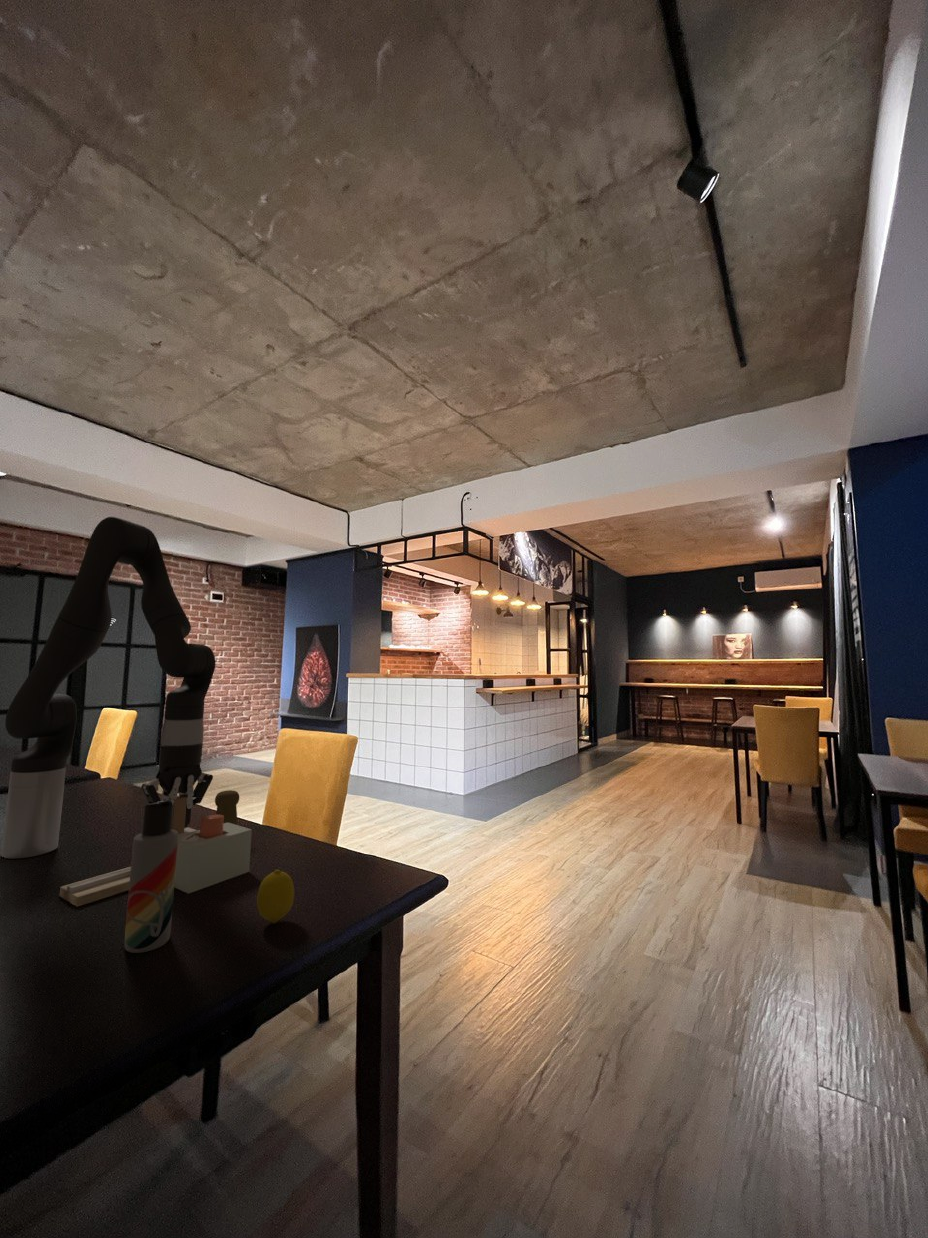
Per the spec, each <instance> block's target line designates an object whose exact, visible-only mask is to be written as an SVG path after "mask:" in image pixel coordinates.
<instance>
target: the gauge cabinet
mask: <svg viewBox="0 0 928 1238" xmlns="http://www.w3.org/2000/svg"><path fill="white" fill-rule="evenodd" d="M196 830H197V829H196ZM252 830H253V829H251V828H248V827H244V826H242V825H239V824H238V825H235V824H232V823H224V824H223V835H220V836H216V837H212V838H209V839H205V838H202V837H200V829H198V830H197V831H193V832H189V833H185V834H181V835H178V846H177V858H176V871H175V884H174V889H178V890H180V891H181V892H184V893H186V894H187V895H189V894H191V893H195V892H197V891H199V890H202V889H205V888H208V887H210V886H213V885H216V884H219V883H222V882H225V881H226V880H230V879H233V878H236V877H238V876H242V875H245V874H246V873H249V872H250V864H251V851H252V850H251V848H252V835H253V832H252Z"/></svg>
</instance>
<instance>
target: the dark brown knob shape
mask: <svg viewBox="0 0 928 1238" xmlns="http://www.w3.org/2000/svg"><path fill="white" fill-rule="evenodd" d="M239 801H240V794H239V792H238V791H236V790H228V789H227V790H224V791H220V792H218V793H216V795H215V799H214V804H215V806H216V811H215V815H223V816H224V822H223V824H224V823H232V824H235V825H238V826H239V824H238V811H237V810H238V809H237V804H239Z"/></svg>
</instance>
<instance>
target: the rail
mask: <svg viewBox="0 0 928 1238" xmlns="http://www.w3.org/2000/svg"><path fill="white" fill-rule="evenodd" d="M130 872H131V866H128V867H125V868H122V869H118V870H114V871H110V872H108V873H107V872H106V873H104V874H100V875H97V876H93V877H90V878H86V879H83V880H79V881H76V882H72V883H70V884H65V885H62V886H60V887H59V888H60V889H59V895H58V896H59V897H61V898H62V899H63V900H65V901H67V902H69V904H72V905H73V906H75V907H81V906H84V905H87V904H90V903H94V902H96V901H100V900H101V899H102V900H103V899H105V898H109V897H112V896H115V895H118V894H122V893H124V892H127V891H129V883H130Z"/></svg>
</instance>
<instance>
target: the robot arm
mask: <svg viewBox="0 0 928 1238" xmlns="http://www.w3.org/2000/svg"><path fill="white" fill-rule="evenodd" d="M117 563H121V564H124V565H125V564H126V565H129V566H131V567H133V569H134V570H135V571H136V572H137V574H138V575H139V577H140V579H141V582H142V592H141V593H142V594H141V601H140V604H141V610H142V613H143V615H144V618H145V620H146V621H147V624H148V626H149V628H150V629H151V632H152V634H153V636H154V643H155V650H156V655H157V661H158V664H159V667H160V668H161V669H162V671H163V672H164V673H165V674H166V675H168V676H169V677H172V678H180V679H181V678H182V681H181V684H180V686H179V687H178V688H176V689H173V690H171V691H169V692H168V693H167V695H166V697H165V707H164V717H163V718H164V719H163V724H162V728H161V734H160V735H161V736H160V747H159V755H158V757H159V758H158V772H157V773H156V775H155V778H154V779H152V780H150V781H149V782H148V783H147V782H144V783H143V784H142V785H141V790H142V792H143V795H144V797H145V798H146V800H147V804H150V803H155V802H160V801H164V800H173V801H174V802H175V800H176V799H177V796H178V795H182V796H185V797H187V803H186V816H185V828H187V827H189V825H190V823H191V815H192V809H193V807H194V806H195V805H199V804H201V803H202V801H203V799H204V797H205V794H206V793H207V790H208V788H209V787H210V784H211V783H212V781H213V780H214V776H213V774H210V773H205V772H202V768H201V763H202V758H203V757H202V756H203V745H204V744H203V741H204V733H205V732H204V731H205V729H204V712H205V711H204V710H205V700H206V696H207V693H208V691H209V688H210V686H211V682H212V679H213V676H214V674H215V670H216V662H217V661H216V656H215V653H214V651H213V650H212V648H210V647H209V646H208V645H205V644H200V643H199V644H197V643H187V641H186V640H185V638H186V637H187V636H189V635H190V633H191V631H192V625H191V622H190V620H189V618H188V616H187V615H186V613H185V610H184V609H183V607H182V605H181V603H180V601H179V599H178V597H177V596H176V594H175V591H174V588H173V585H172V583H171V580H170V577H169V574H168V570H167V567H166V564H165V560H164V558H163V554H162V551H161V547H160V544H159V542H158V539H157V537H156V535H155V533H154V532H153V531H152V530H151V529H149V528H147V527H146V526H145V525H141V524H138V523H135V522H132V521H129V520H126V519H123V518H121V517H118V516H107V517H105V518H103V519H102V520H101V521H99V522H98V524H97V525H96V526H95V528H94V529H93V531H92V533H91V535H90V538H89V540H88V543H87V546H86V549H85V553H84V556H83V558H82V562H81V564H80V566H79V567H80V568H79V571H78V572H77V575H76V578H75V580H74V582H73V585H72V587H71V589H70V592H69V594H68V595H67V598H66V600H65V602H64V604H63V606H62V608H61V610H60V611H59V614H58V616H57V617H56V619H55V622H54V624H53V626H52V628H51V631H50V632H49V636H48V638H47V639H46V641H45V644H44V646H43V648H42V650H41V652H40V654H39V656H38V657H37V660H36V661H35V664H34V666H33V667H32V669H31V670H30V672H29V674H28V675H27V676H26V679H25V680H24V682H23V683H22V685H21V686H20V688H19V689H18V691H17V693H16V694H15V696H14V698H13V699H12V701H11V702H10V705H9V706H8V708H7V709H8V710H7V712H6V715H5V722H4V723H5V724H4V725H5V729H6V732H7V734H8V735H9V736H11V737H12V738H14V739H23V740H24V739H36V742H34V744H33V745H32V746H30V748H29V749H27V750H26V751H23V752H21V753H19V754H17V755H15V756H14V757H13V758H12V760H11V765H10V774H9V782H8V793H7V803H6V808H5V816H4V817H5V818H4V826H3V835H2V844H1V851H0V857H1V856H2V858H3V857H4V859H25V858H31V857H36V856H41V855H44V854H47V853H50V852H52V851H54V850H56V849H57V848H58V846H59V838H60V830H61V820H62V809H63V800H64V791H65V782H66V781H65V779H66V772H67V771H66V770H67V762H68V760H69V759H68V758H70V755H71V753H72V751H73V745H74V739H75V733H76V726H77V720H78V709H77V704H76V701H75V700H74V699H73V697H72V696H70V695H68V694H64V693H56V692H57V690H58V688H59V687H60V685H61V684H62V683H63V682H64V681H65V680H66V678H68V676H69V675H71V674H72V673H73V672H75V670H77V669H78V668H79V667H80V666H82V665H83V664H85V663H86V662H87V661H88V660H89V659H90V658H92V657H93V655H94V654H96V653H97V651H98V650H99V649H100V647H101V645H102V644H103V642H104V640H105V637H106V635H107V633H108V631H109V629H110V627H111V624H112V618H113V617H112V608H111V607H112V606H111V603H110V597H109V590H108V589H109V582H110V578H111V576H112V573H113V571H114V569H115V566H116V565H117ZM196 783H197V784H196ZM195 784H196V785H195ZM159 786H160V788H161V789H162V791H161V792H162V793H161V798H160V796H159V794H158V791H159ZM194 786H195V787H194ZM172 825H173V822H172Z"/></svg>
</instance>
